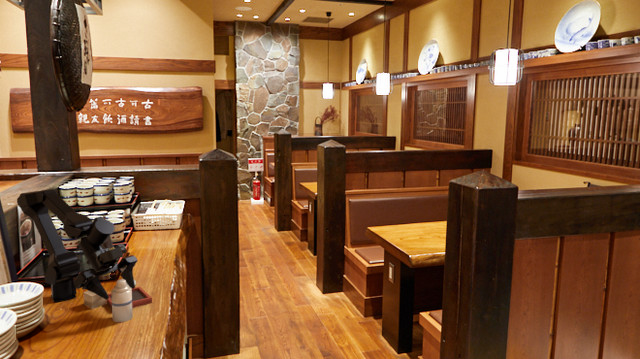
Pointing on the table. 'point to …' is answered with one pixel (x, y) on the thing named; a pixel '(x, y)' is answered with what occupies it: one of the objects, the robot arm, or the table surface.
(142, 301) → the lacquer tray
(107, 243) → the sauce bottle
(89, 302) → the wooden masu box
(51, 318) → the table surface
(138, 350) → the table surface
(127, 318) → the white sake bottle
